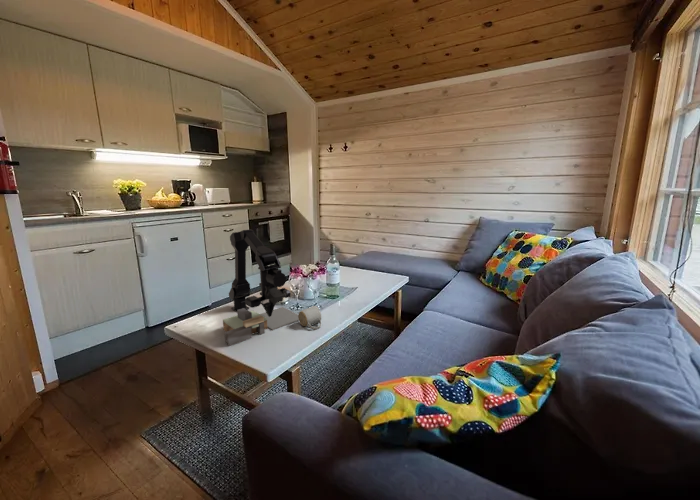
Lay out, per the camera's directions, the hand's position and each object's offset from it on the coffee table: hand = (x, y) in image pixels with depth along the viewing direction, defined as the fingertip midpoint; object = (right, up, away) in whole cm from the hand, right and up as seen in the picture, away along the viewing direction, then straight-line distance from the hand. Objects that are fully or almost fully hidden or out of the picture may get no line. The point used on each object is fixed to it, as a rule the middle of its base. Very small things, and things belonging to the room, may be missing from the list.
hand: (269, 316), depth 136 cm
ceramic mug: (+17, -5, +6) cm, 19 cm away
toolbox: (-11, -6, -1) cm, 13 cm away
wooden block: (-5, -2, -5) cm, 8 cm away
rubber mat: (+1, -4, +12) cm, 13 cm away
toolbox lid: (-10, -2, -1) cm, 10 cm away
